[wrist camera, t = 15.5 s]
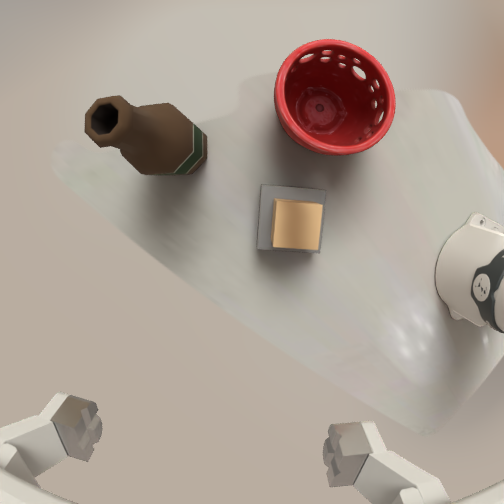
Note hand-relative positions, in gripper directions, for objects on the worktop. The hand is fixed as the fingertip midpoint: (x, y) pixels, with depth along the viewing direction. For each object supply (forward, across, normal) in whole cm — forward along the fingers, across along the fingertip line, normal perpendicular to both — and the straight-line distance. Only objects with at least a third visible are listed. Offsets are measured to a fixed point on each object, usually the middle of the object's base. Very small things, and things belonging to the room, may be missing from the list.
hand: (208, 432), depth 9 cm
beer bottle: (+35, +9, -12) cm, 38 cm away
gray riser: (+35, -6, -3) cm, 36 cm away
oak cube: (+31, -6, -3) cm, 32 cm away
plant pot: (+35, -9, -18) cm, 41 cm away
